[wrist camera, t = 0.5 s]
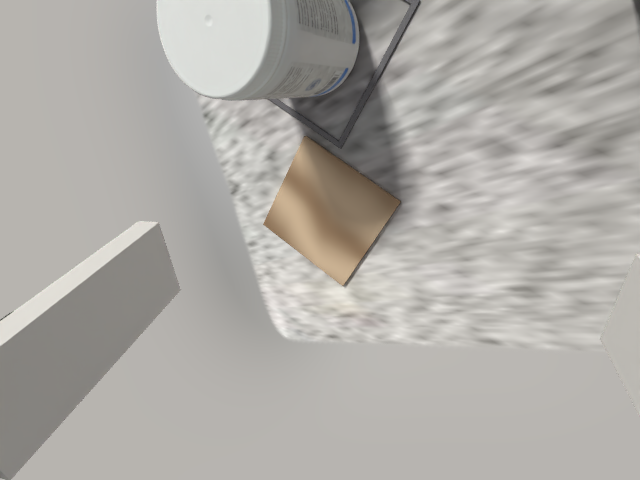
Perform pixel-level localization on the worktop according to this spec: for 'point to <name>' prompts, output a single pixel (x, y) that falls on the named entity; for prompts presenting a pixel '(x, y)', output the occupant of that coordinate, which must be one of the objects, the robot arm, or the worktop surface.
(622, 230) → the worktop surface
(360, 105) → the dark square outline frame
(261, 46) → the supplement tub
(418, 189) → the worktop surface
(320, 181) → the wooden coaster
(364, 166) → the worktop surface
